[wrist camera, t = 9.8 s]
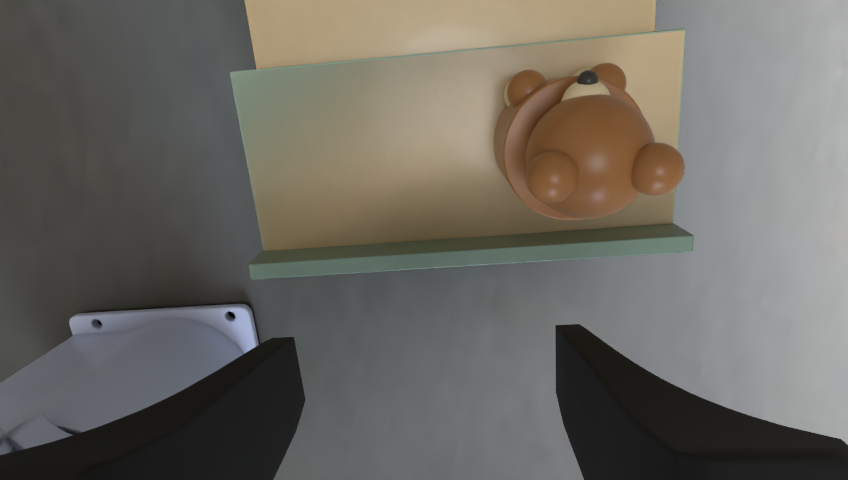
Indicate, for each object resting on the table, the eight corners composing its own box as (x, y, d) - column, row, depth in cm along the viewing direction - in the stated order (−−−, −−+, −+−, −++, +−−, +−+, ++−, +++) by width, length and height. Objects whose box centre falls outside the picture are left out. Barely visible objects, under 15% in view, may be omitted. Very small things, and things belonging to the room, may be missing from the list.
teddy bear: (495, 202, 17) (520, 261, 11) (490, 75, 16) (515, 64, 10) (610, 193, 17) (700, 250, 11) (614, 63, 16) (717, 45, 10)
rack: (303, 229, 23) (250, 280, 17) (250, -95, 19) (157, -184, 13) (624, 207, 22) (693, 252, 16) (637, -142, 18) (733, -263, 12)
